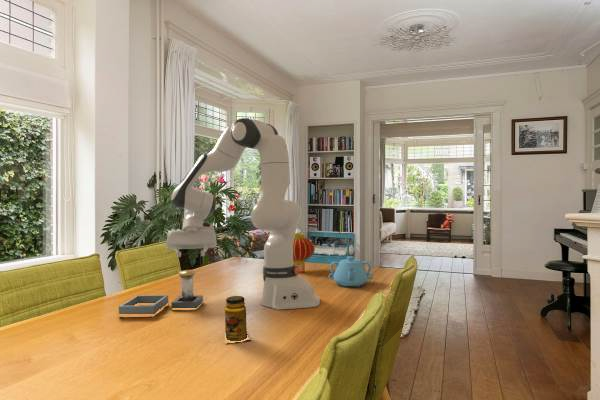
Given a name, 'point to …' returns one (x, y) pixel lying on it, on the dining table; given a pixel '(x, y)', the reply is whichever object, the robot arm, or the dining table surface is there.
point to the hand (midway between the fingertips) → (190, 255)
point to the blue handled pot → (350, 272)
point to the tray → (143, 309)
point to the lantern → (302, 250)
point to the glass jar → (187, 285)
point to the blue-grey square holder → (187, 302)
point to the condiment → (235, 319)
